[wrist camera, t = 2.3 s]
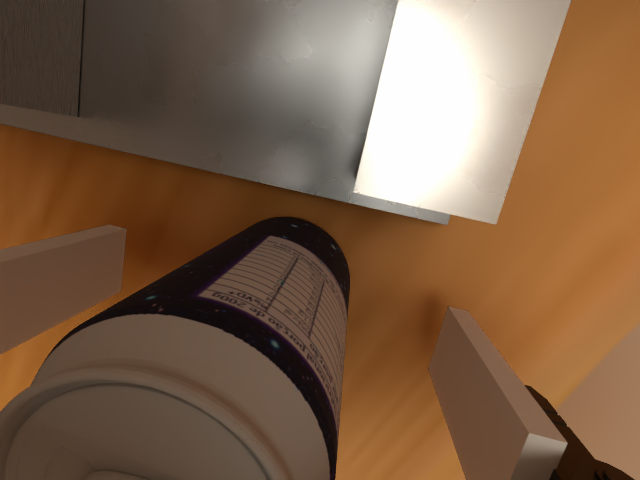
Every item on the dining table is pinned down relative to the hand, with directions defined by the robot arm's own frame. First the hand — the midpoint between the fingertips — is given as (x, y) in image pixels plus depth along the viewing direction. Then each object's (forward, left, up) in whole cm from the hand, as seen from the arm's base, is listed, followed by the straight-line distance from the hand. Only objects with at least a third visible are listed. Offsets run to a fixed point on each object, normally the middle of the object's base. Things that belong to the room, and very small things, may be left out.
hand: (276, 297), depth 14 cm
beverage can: (0, 0, -3) cm, 3 cm away
